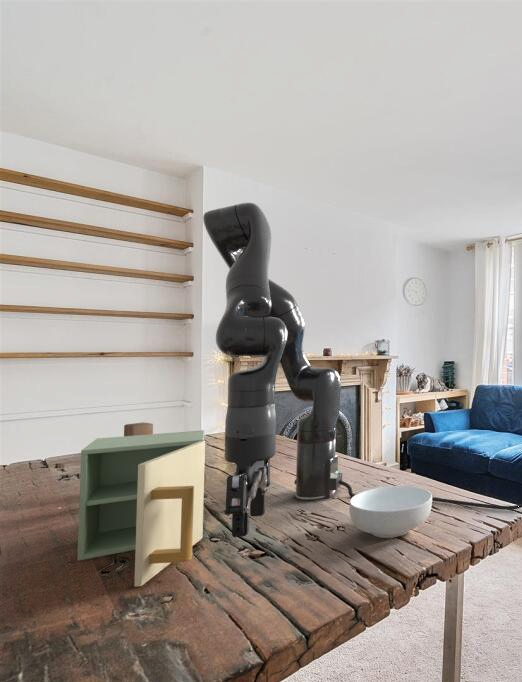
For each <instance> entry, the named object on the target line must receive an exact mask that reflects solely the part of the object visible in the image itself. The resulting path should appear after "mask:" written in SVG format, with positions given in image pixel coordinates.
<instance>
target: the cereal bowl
mask: <svg viewBox="0 0 522 682" xmlns="http://www.w3.org/2000/svg"><path fill="white" fill-rule="evenodd" d="M432 497H433V494H432V493H431V492H430V491H429V490H428V489H425V488H423V487H418V486H413V485H389V486H387V485H386V486H380V487H376V488H371V489H368V490H363V491H361V492H359V493H357V494H355V496H354V497H351V498H350V500H349V505H348V506H349V515H350V516H349V517H350V519H351V522H352V523H353V524H354V526H355V527H356V528H358V529H359V530H361V531H362V532H364V533H368V534H372V535H373V536H374V537H377V538H381V539H392V538H399V537H401V536H404V535H406V534H407V533H409V532H410V531H412V530H414V529H416V528H418V527H419V526H421V525H422V524H423V523H424V522H425V521H426V520H427V519H428V517H429V516H430V513H431V511H432V506H433V501H432Z"/></svg>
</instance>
